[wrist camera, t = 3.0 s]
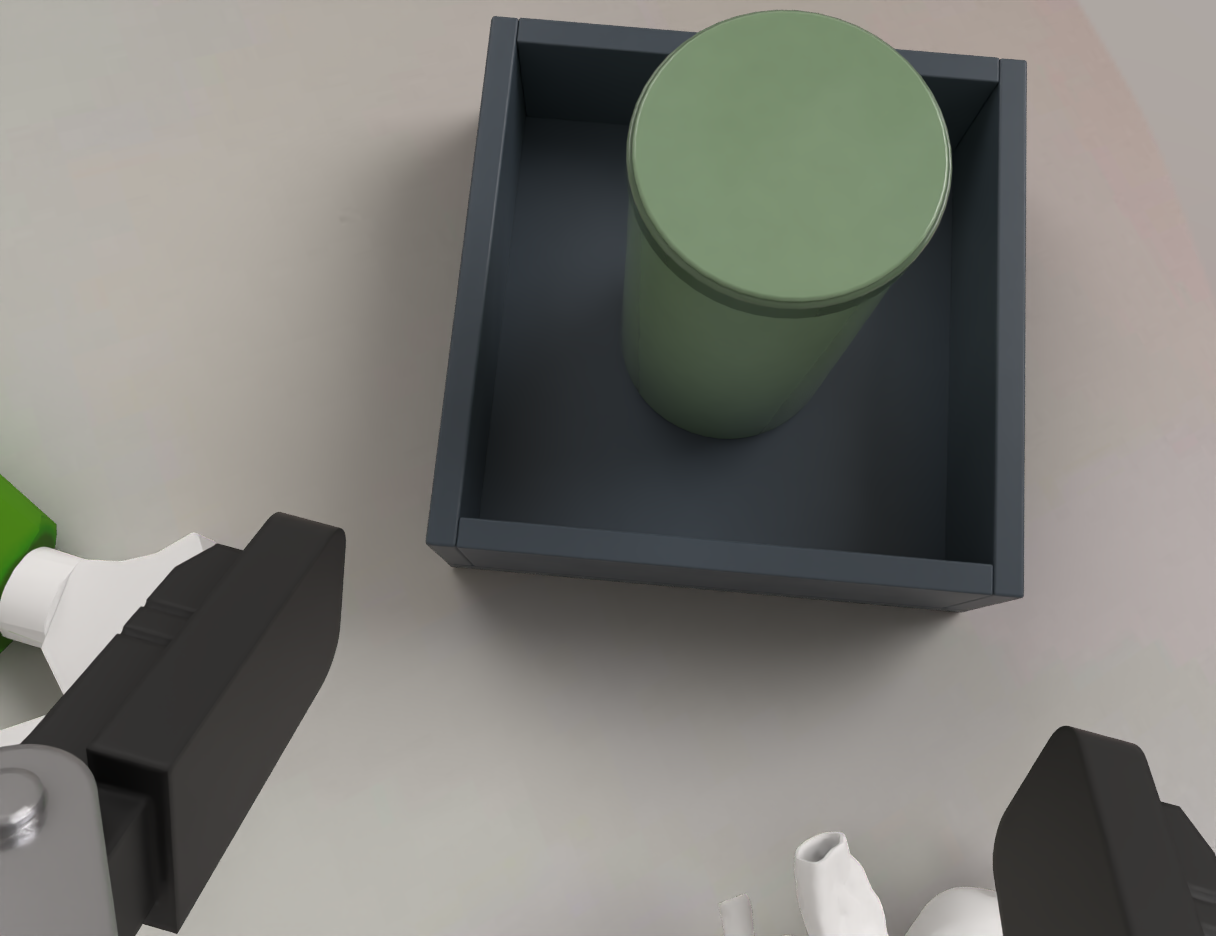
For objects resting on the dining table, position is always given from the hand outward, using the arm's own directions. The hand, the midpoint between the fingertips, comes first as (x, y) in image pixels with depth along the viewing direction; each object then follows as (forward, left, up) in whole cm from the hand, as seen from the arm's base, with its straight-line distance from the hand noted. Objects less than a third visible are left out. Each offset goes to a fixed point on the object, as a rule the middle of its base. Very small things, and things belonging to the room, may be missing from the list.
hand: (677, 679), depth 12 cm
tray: (-2, -9, -16) cm, 18 cm away
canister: (-2, -9, -15) cm, 18 cm away
